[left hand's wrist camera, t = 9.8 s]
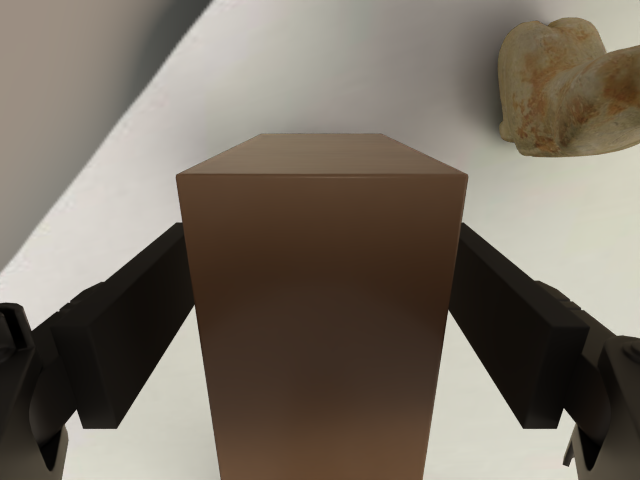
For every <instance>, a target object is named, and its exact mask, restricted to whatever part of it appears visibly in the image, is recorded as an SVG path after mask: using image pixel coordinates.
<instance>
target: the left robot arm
mask: <svg viewBox="0 0 640 480" xmlns="http://www.w3.org/2000/svg"><path fill="white" fill-rule="evenodd" d="M194 305H195V303H194V296H193V289H192V283H191V276H190V269H189V263H188V256H187V249H186V243H185V236H184V229H183V223H175V224H174V225H173V226H172V227H170V228H169V229H168V230H167V231H166V232H164V233H163V234H162V235H161V236H160V237H158V238H157V239H156V240H155V241H153V242H152V243H151V244H150V245H149V246H147V247H146V248H145V249H144V250H143V251H141V252H140V253H139V254H138V255H136V256H135V257H134V258H133V259H132V260H130V261H129V262H128V263H127V264H125V265H124V266H123V267H122V268H121V269H119V270H118V271H117V272H116V273H115V274H113V275H112V276H111V277H110V278H108V279H107V280H106V281H105V282H100V283H98V284H96V285H94V286H92V287H90V288H88V289H86V290H84V291H82V292H81V293H80V294H78V295H77V296H76V297H75V298H73V299H72V300H71V301H70V303H67V304H66V305H64V306H63V307H62V308H61V309H59V310H60V311H59V312H56V313H54V314H53V315H52V316H50V317H49V318H48V319H47V320H45V321H44V322H43V323H42V324H40V325H39V326H38V327H36V328H35V329H34V330H33V331H31V328H30V325H29V323H28V320H27V317H26V314H25V311H24V308H23V306H21V305H19V304H17V303H0V480H62V475H63V469H64V463H65V457H66V452H67V446H68V433H67V430H66V427H65V423H66V422H67V421H68V419H69V418H70V417H71V416H72V414H73V413H74V412H75V411H76V409H77V412H78V415H79V418H80V421H81V424H82V427H83V429H117V428H118V426H119V424H120V423H121V421H122V420H123V418H124V416H125V415H126V413H127V412H128V410H129V408H130V407H131V405H132V404H133V402H134V400H135V399H136V397H137V396H138V394H139V392H140V391H141V389H142V388H143V386H144V385H145V383H146V381H147V380H148V378H149V377H150V375H151V373H152V372H153V370H154V369H155V367H156V365H157V364H158V362H159V361H160V359H161V357H162V356H163V354H164V353H165V351H166V349H167V348H168V346H169V345H170V343H171V341H172V340H173V338H174V337H175V335H176V333H177V332H178V330H179V329H180V327H181V325H182V324H183V322H184V321H185V319H186V318H187V316H188V314H189V313H190V311H191V310H192V308H193V306H194ZM448 310H449V311H450V313H451V314H452V316H453V318H454V319H455V321H456V322H457V324H458V326H459V327H460V329H461V330H462V332H463V333H464V335H465V337H466V338H467V340H468V341H469V343H470V345H471V346H472V348H473V349H474V351H475V353H476V354H477V356H478V357H479V359H480V361H481V362H482V364H483V365H484V367H485V369H486V370H487V372H488V373H489V375H490V377H491V378H492V380H493V381H494V383H495V385H496V386H497V388H498V389H499V391H500V393H501V394H502V396H503V397H504V399H505V400H506V402H507V404H508V405H509V407H510V408H511V410H512V412H513V413H514V415H515V416H516V418H517V420H518V421H519V423H520V424H521V426H522V428H523V429H557V427H558V424H559V421H560V418H561V414H562V411H563V408H564V409H565V410H566V411H567V412H568V414H569V415H570V416H571V417H572V419H573V420H574V421H575V422H576V424H575V427H574V430H573V433H572V435H571V438H570V441H569V444H568V447H567V449H566V452H565V455H564V460H563V465H565V466H568V467H569V465H570V462H571V459H572V458H574V457H575V462H576V468H577V474H578V479H579V480H640V338H636V337H629V336H616V335H615V334H614V333H612V332H611V331H610V330H609V329H607V328H606V327H605V326H603V325H602V324H601V323H600V322H598V321H597V320H596V319H594V318H593V317H592V316H591V315H589V314H588V313H587V312H585V311H584V310H581V308H580V307H579V306H578V305H576V304H575V303H574V302H573V301H570V299H569V298H568V297H566V296H565V295H564V294H562V293H561V292H560V291H559V290H557V289H555V288H553V287H551V286H549V285H547V284H545V283H543V282H541V281H534V280H533V279H532V278H530V277H529V276H528V275H527V274H525V273H524V272H523V271H522V270H521V269H519V268H518V267H517V266H516V265H515V264H513V263H512V262H511V261H510V260H508V259H507V258H506V257H505V256H504V255H502V254H501V253H500V252H499V251H497V250H496V249H495V248H494V247H493V246H491V245H490V244H489V243H488V242H487V241H485V240H484V239H483V238H482V237H480V236H479V235H478V234H477V233H476V232H474V231H473V230H472V229H471V228H470V227H468V226H467V225H466V224H465V223H461V229H460V235H459V242H458V249H457V255H456V262H455V268H454V275H453V282H452V288H451V295H450V301H449V308H448Z"/></svg>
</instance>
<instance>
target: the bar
mask: <svg viewBox="0 0 640 480" xmlns="http://www.w3.org/2000/svg"><path fill="white" fill-rule="evenodd" d="M176 182H177V189H178V196H179V203H180V209H181V216H182V223H183V229H184V236H185V243H186V249H187V256H188V263H189V269H190V276H191V283H192V289H193V296H194V303H195V310H196V316H197V323H198V330H199V336H200V343H201V350H202V356H203V363H204V370H205V376H206V383H207V390H208V396H209V403H210V410H211V417H212V423H213V430H214V437H215V443H216V450H217V457H218V463H219V470H220V477H221V480H423V473H424V466H425V460H426V453H427V447H428V440H429V433H430V427H431V420H432V414H433V407H434V400H435V394H436V387H437V381H438V374H439V367H440V361H441V354H442V348H443V341H444V334H445V328H446V321H447V315H448V308H449V301H450V295H451V288H452V282H453V275H454V268H455V262H456V255H457V249H458V242H459V235H460V229H461V222H462V216H463V209H464V202H465V196H466V189H467V183H468V174H466V173H463V172H461V171H459V170H457V169H455V168H453V167H451V166H449V165H446V164H444V163H442V162H440V161H438V160H436V159H434V158H432V157H430V156H427V155H425V154H423V153H421V152H419V151H417V150H415V149H413V148H410V147H408V146H406V145H404V144H402V143H400V142H398V141H396V140H393V139H391V138H389V137H387V136H385V135H383V134H260V135H258V136H256V137H254V138H252V139H250V140H247V141H245V142H243V143H241V144H239V145H237V146H235V147H233V148H231V149H229V150H227V151H225V152H223V153H220V154H218V155H216V156H214V157H212V158H210V159H208V160H206V161H204V162H202V163H200V164H198V165H196V166H193V167H191V168H189V169H187V170H185V171H183V172H181V173H179V174H177V175H176Z"/></svg>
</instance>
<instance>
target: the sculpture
mask: <svg viewBox="0 0 640 480" xmlns="http://www.w3.org/2000/svg"><path fill="white" fill-rule="evenodd" d="M498 80H499V91H500V98H501V104H502V111H503V121H502V122H501V123H500V125H499V131H500V135H501V138H502V139H503V140H505V141H508V142H515V144H516V147H517V149H518V151H519V153H520V154H522V155H524V156H533V157H575V156H588V155H599V154H605V153H610V152H615V151H620V150H623V149H626V148H629V147H632V146H635V145H637V144H639V143H640V45H638V46H634V47H630V48H625V49H621V50H616V51H613V52H609V53H606V50H605V47H604V45H603V43H602V40H601V38H600V35H599V33H598V31H597V29H596V28H595V26H594V25H593V24H592V23H590V22H589V21H586V20H584V19H580V18H561V19H559V20H556V21H554V22H551V23H550V24H549V25H548V26H545V25H543V24H542V23H540V22H539V21H531V22H525V23H521V24H520V25H518V26H516V27H515V28H514V29H512V30H511V31H510V32H509V33H508V34H507V36H506V38H505V39H504V41H503V44H502V46H501V49H500V52H499V56H498Z"/></svg>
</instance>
